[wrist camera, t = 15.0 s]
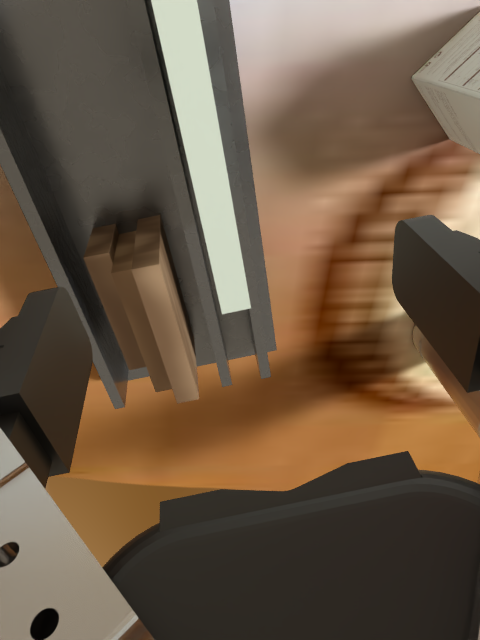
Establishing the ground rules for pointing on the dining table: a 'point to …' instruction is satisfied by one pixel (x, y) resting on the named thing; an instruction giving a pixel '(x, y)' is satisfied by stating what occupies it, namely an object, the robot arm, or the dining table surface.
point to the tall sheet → (203, 145)
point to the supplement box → (455, 85)
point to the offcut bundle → (145, 303)
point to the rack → (125, 162)
